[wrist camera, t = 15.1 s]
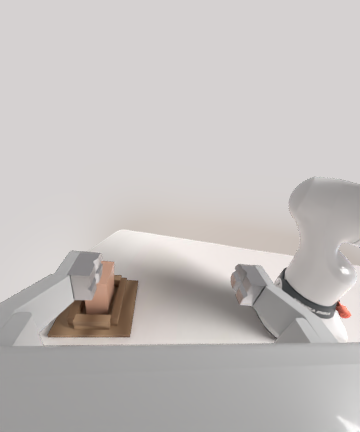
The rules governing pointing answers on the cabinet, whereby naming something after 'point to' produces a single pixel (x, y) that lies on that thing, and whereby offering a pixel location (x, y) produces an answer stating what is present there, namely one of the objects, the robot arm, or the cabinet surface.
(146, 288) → the cabinet surface
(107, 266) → the peach rectangular block
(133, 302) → the wooden tray with base
